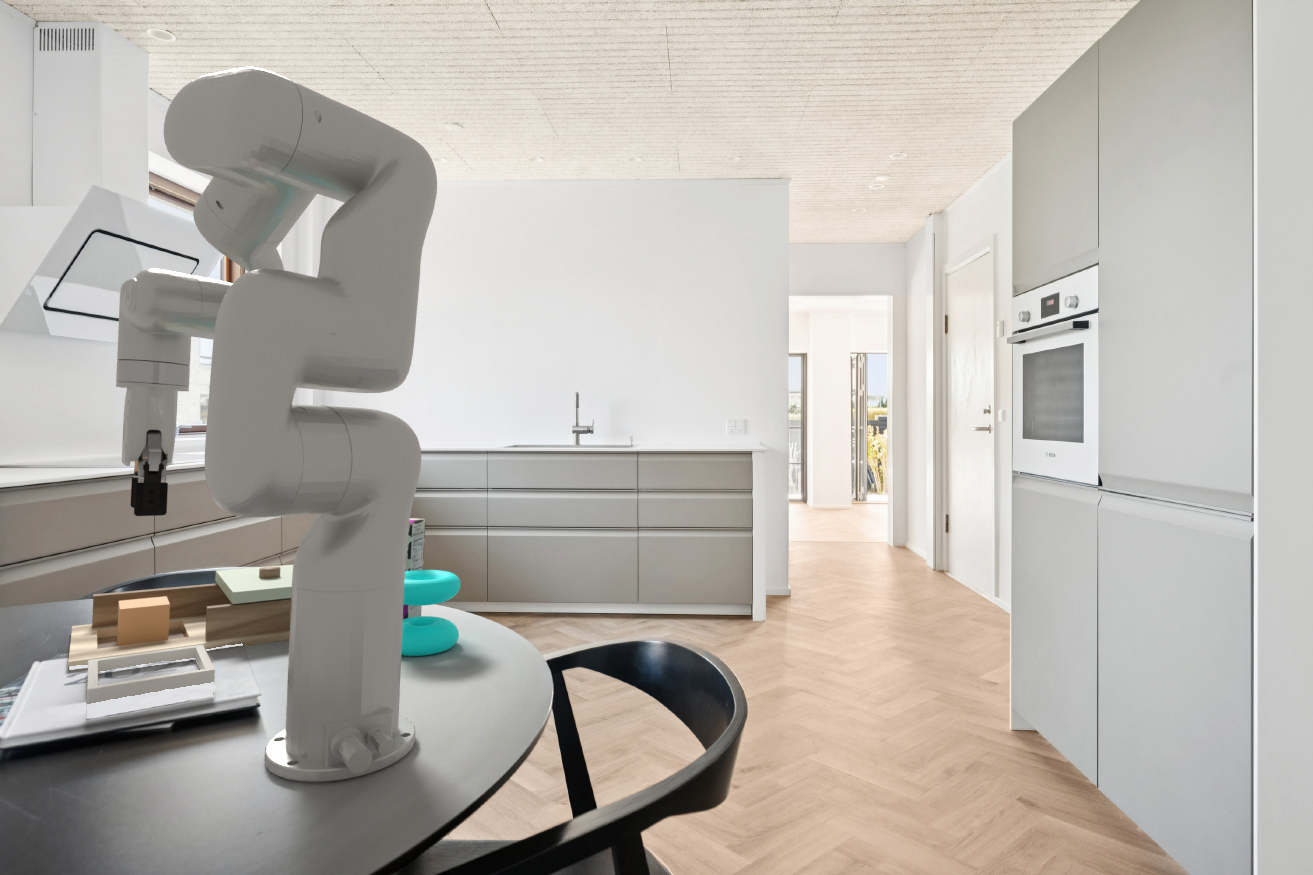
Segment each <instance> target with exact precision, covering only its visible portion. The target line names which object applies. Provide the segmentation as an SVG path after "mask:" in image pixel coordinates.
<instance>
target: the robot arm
mask: <svg viewBox="0 0 1313 875" xmlns="http://www.w3.org/2000/svg"><path fill="white" fill-rule="evenodd" d="M163 139H164V144H165V146H166V150H167V152H168V154H169V155H170V156H171V158H172V159H173V160H174V161H175V162H176V163H177V164H178V165H181V166H182V167H184V168H186V169H189V170H192V171H194V172H197V173H201V174H204V175H207V176H210V177H212V178H211V180H210V181H209V182H208V184H207V186H206V187H205V188H204V190H203V192H202V194H200V196H199V198H198V199H197V201H196V203H195V204H194V207H193V213H192V215H193V221H194V224H195V226H196V228H197V230H198V232H199V233H200V235H201V236H202V237H203V238H204V239H205V240H206V242H208V244H209V245H211V247H213V248H214V249H215V250H216V251H218V252H219V253H220V254H222V255H224V256H225V257H226V258H228V259H229V260H230V261H233V262H234V263H235V264H236V265H238V266H240V267H242V269H244V270H246V271H247V272H245V273H243V274H242V275H241V276H239V277H237V278H236V279H235V281H234V282H233V283H232V282H228V281H223V280H219V279H213V278H209V277H203V276H199V275H194V274H187V273H183V272H177V271H172V270H167V269H162V268H161V269H160V268H147V269H143V270H141V271H139V272H138V273H137V274H136V275H135V276H134V277H133V278H130V279H127V280H125V281H124V282H123V283H122V284H121V286H120V292H119V310H118V330H117V331H118V333H117V357H116V377H115V387H117V388H124V389H126V392H125V398H124V406H123V407H124V408H123V409H124V410H123V424H122V446H121V448H122V449H121V463H122V464H123V465H124V466H126V467H130V466H131V462H134V467H133V477H131V488H130V507H131V508H132V509H133V515H134V516H136V517H147V516H148V517H153V516H161V517H162V516H165V515H167V513H168V512H167V511H168V493H169V492H168V491H169V490H168V489H169V483H168V482H167V467H168V466H170V465H171V464H172V463H173V458H174V451H175V450H174V449H175V442H176V431H177V419H178V418H177V416H178V413H177V412H178V399H179V398H178V394H179V392H189V391H190V373H191V372H190V371H191V367H190V366H191V352H192V349H191V348H192V338H200V339H208V340H212V353H211V367H210V380H209V393H208V405H207V417H206V429H205V443H204V473H205V474H204V475H205V482H206V486H207V490H208V492H209V495H210V496H211V498H212V501H213V502H214V504H216V505H217V507H219V508H220V509H221V510H222V511H223V512H226V513H227V514H229V515H232V516H236V517H242V518H269V517H271V518H272V517H273V518H275V517H288V516H289V517H290V516H302V515H303V516H304V515H305V516H306V515H316V514H317V516H316V517H315V519H314V520H313V522H312V524H311V525H310V526H309V528H308V529H307V532H306V533H305V534H304V535H303V538H302V539H301V541H300V543H299V545H298V548H297V551H296V553H295V556H294V560H293V564H292V565H293V572H292V589H291V613H290V637H289V640H288V641H289V642H288V664H287V668H288V669H287V687H286V689H287V690H286V691H287V692H286V712H285V713H286V714H285V717H286V718H285V728H284V729H283V730H281V731H280V732H278V733H276V734H275V735H274V736H273V737H272V738H270V740H269V741H268V742H267V744H266V746H265V749H264V758H263V759H264V760H263V761H264V765H265V767H266V768H267V770H268V771H269V772H271V773H272V774H274V775H276V776H278V777H281V778H282V779H287V780H291V781H292V780H293V781H297V782H309V783H311V782H312V783H316V782H317V783H318V782H320V783H321V782H332V781H334V782H335V781H340V780H341V781H342V780H347V779H351V778H357V777H358V778H359V777H361V776H365V775H368V774H371V773H374V772H377V771H379V770H381V769H382V770H383V769H385V768H386V767H389V766H391V765H393V764H395V763H397V762H399V761H400V760H401V759H402V758H404V757H405V756H406V755H408V754H409V752H410V751H411V750H412V749H413V747H414V745H415V743H416V733H417V731H416V727H415V725H414V723H413V722H412V721H410V719H408V718H407V717H405V716H403V715H400V698H401V697H400V696H401V695H400V694H401V692H400V691H401V674H402V673H401V671H402V670H401V669H402V667H401V666H402V655H401V649H402V625H403V600H404V580H405V564H406V547H407V536H408V526H409V520H410V518H411V513H412V507H413V503H414V499H415V495H416V491H417V487H418V484H419V478H420V473H421V467H422V450H421V449H422V448H421V446H420V441H419V438H418V436H417V434H416V433H415V431H414V430H413V429H412V427H411V426H410V425H409V424H408V423H407V422H406V421H404V420H403V419H401V418H400V417H398V416H396V415H394V414H392V413H389V412H386V411H382V410H378V409H372V408H363V407H353V406H351V407H350V406H338V405H337V406H336V405H313V404H311V405H310V404H295V403H293V402H294V397H295V394H296V390H297V389H298V388H299V389H309V390H310V389H311V390H319V391H329V392H342V393H343V392H344V393H355V394H356V393H357V394H380V393H386V392H391V391H393V390H395V389H397V388H399V387H400V386H401V385H402V384H403V383H404V382H405V381H406V379H407V378H408V377H407V376H408V375H409V373H410V369H411V366H412V360H413V355H414V346H415V338H416V337H415V336H416V326H417V316H418V315H417V313H418V301H419V291H420V282H421V263H422V254H423V247H424V243H425V239H426V236H427V233H428V230H429V226H430V224H431V220H432V216H433V214H434V210H435V206H436V200H437V194H438V176H437V171H436V167H435V164H434V161H433V159H432V157H431V155H430V154H429V152H428V151H427V149H426V148H425V147H424V146H423V145H422V144H421V143H420V142H419V141H417V140H416V139H414V138H412V137H411V136H409V135H408V134H405V133H404V132H403V131H400V130H399V129H397V128H395V127H392V126H391V125H389V124H386V123H385V122H383V121H380V120H379V119H376V118H374V117H372V116H370V115H368V114H366V113H363V112H362V111H359V110H357V109H355V108H353V107H351V106H348V105H346V104H344V103H341V102H339V101H337V100H334V99H332V98H329V97H328V96H325V95H324V94H322V93H320V92H317V91H316V90H313V89H311V88H309V87H306V86H304V85H303V84H300V83H299V82H296V81H294V80H292V79H290V78H287V77H285V76H283V75H280V74H277V73H276V72H274V71H270V70H267V69H264V68H259V67H256V66H255V67H254V66H246V67H245V66H244V67H239V68H232V69H228V70H224V71H218V72H214V73H213V72H212V73H208V74H205V75H202V76H199V77H197V78H195V79H193V80H191V81H190V82H188V83H187V84H186V85H184V86H183V87H182V88H181V89H180V90H179V91H178V92H177V93H176V95H175V96H174V97H173V99H172V100H171V102H170V104H169V106H168V108H167V111H166V114H165V117H164V122H163ZM317 195H320V196H324V197H326V198H330V199H333V200H336V201H337V202H338V201H339V202H341V203H343V204H342V205H341V206H339V208H338V209H337V210H336V211H335V212H334V213H333V215H331V217H330V218H329V220H327V222H326V225H325V226H324V229H323V231H322V235H321V240H320V251H319V252H320V254H319V267H318V272H317V277H316V276H313V275H312V276H311V275H307V274H303V273H300V272H299V273H297V272H295V271H290V270H285V269H284V264H283V261H282V258H281V255H280V253H279V251H278V249H277V248H278V246H279V245H280V244H281V243H282V241H283V240H284V239H285V238H286V236H287V235H288V233H290V231H291V230H292V228H293V226H294V225H295V224H296V223H297V221H298V220H299V219H300V217H301V216H302V215H303V213H304V212H305V211H306V210H307V209H308V207H309V205H311V203H312V201H313V200H314V199H315V198H316V196H317Z"/></svg>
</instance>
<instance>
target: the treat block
mask: <svg viewBox="0 0 1313 875" xmlns="http://www.w3.org/2000/svg"><path fill="white" fill-rule="evenodd" d="M169 612H170V603H169V601H168V598H167V596H165V597H154V598H144V599H133V600H123V601H119V605H118V628H117V645H118V646H123V645H131V644H139V643H147V642H154V641H162V640H168V636H169Z"/></svg>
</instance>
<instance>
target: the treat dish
mask: <svg viewBox="0 0 1313 875" xmlns="http://www.w3.org/2000/svg"><path fill="white" fill-rule="evenodd" d="M190 658H196V661H197V663H198V666H199V668H198V669H196V670H188V671H181V672H177V673H171V674H163V675H162V674H161V675H158V676H157V675H156V676H150V677H149V676H148V677H143V678H139V679H131V680H125V681H118V682H113V683H112V682H111V683H105V684H99V675H98V672H100V671H107V670H112V669H116V668H124V667H130V666H136V665H141V664H149V663H156V662H161V661H176V660H182V659H190ZM211 660H212V659H211V658H210V657H209V654H208V651H207V652H206V650H205V648H204V646H203V645H196V646H188V647H181V648H174V649H166V650H159V651H152V652H144V653H137V654H130V655H122V656H115V657H108V658H100V659H93V660H88V669H87V680H88V681H87V685H86V686H87V687H86V692H87V693H86V705H87V704H91V703H96V702H101V701H106V700H110V699H118V698H122V697H127V696H135V695H141V694H145V693H150V692H158V691H162V690H165V689H175V688H180V687H186V686H192V685H200V684H204V683H211V682H214V683H215V680H216V679H215V678H216V676H215V674H216V669H215V667H214V664H213V663H212V661H211ZM196 661H195V662H196ZM198 666H197V667H198ZM199 669H200V670H199Z"/></svg>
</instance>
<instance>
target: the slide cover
mask: <svg viewBox="0 0 1313 875" xmlns="http://www.w3.org/2000/svg"><path fill="white" fill-rule="evenodd" d="M292 572H293V564H284V565H271V566H259V567H257V566H256V567H246V568H233V569H220V570H218V569H217V570H215V578H214V580H215V582H216V583H215V584H218V585H219V587H220V588H221V589H222V591H223V592H224V593H225V595H226V596H227V597H228V599H229V600H230V601H231V603H232V604H239V603H248V602H257V601H267V600H276V599H285V598H291V589H292Z"/></svg>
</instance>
